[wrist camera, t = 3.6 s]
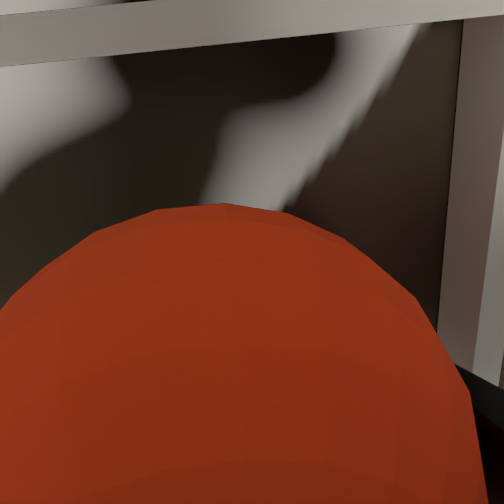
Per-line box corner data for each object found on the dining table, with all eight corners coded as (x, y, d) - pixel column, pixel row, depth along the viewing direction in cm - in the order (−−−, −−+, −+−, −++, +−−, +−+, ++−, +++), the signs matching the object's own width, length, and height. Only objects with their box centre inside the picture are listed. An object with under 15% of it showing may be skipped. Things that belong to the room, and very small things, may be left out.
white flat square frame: (502, -27, 8) (566, -40, 7) (444, 483, 13) (473, 535, 12) (-203, 43, 7) (-296, 44, 6) (30, 553, 12) (9, 617, 11)
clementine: (470, 288, 10) (931, 702, 4) (286, 490, 12) (391, 989, 6) (142, 71, 8) (-104, 223, 1) (-23, 369, 10) (-444, 1014, 3)
